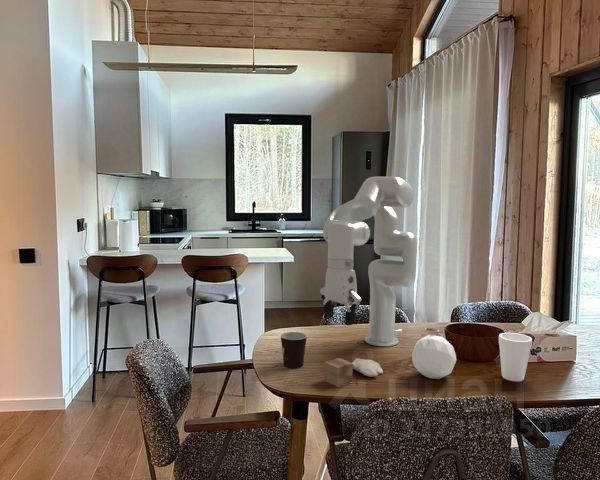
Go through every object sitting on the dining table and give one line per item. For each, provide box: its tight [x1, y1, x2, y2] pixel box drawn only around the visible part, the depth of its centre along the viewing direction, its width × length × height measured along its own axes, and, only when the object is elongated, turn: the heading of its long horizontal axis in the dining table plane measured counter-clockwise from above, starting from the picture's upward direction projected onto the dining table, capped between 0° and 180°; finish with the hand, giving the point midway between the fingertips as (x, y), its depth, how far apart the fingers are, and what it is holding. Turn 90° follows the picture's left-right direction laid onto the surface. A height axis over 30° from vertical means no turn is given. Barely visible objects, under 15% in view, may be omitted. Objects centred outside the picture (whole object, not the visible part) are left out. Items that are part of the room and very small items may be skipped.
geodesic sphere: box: [411, 333, 457, 380], centre depth 155 cm, size 14×14×14 cm
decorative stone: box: [351, 357, 384, 378], centre depth 161 cm, size 11×4×15 cm
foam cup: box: [498, 332, 533, 382], centre depth 155 cm, size 10×9×13 cm
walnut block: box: [323, 357, 354, 388], centre depth 151 cm, size 6×6×6 cm
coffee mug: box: [280, 331, 308, 370], centre depth 166 cm, size 12×9×10 cm
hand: (339, 320), depth 149 cm, fingers open, 9 cm apart
